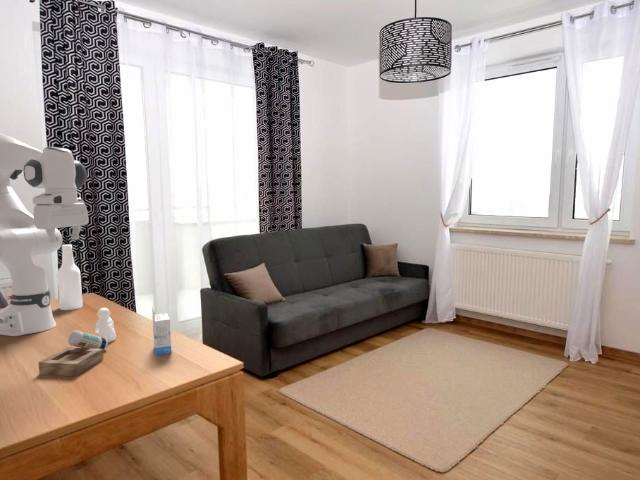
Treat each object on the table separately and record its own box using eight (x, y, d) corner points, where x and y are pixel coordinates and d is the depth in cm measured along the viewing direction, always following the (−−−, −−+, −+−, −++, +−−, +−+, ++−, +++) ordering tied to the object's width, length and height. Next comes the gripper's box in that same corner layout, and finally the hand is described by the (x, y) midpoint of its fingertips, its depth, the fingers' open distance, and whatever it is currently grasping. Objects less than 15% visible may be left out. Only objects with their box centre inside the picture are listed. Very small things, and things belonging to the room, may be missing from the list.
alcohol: (67, 314, 185) (61, 246, 182) (56, 312, 190) (51, 245, 187) (87, 310, 193) (82, 244, 189) (76, 307, 197) (71, 243, 194)
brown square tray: (39, 376, 124) (38, 362, 124) (68, 360, 136) (67, 347, 136) (77, 378, 123) (76, 363, 122) (103, 361, 135) (102, 348, 134)
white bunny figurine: (97, 347, 146) (95, 312, 145) (94, 340, 153) (92, 307, 152) (117, 343, 150) (115, 309, 148) (114, 336, 157) (111, 304, 155)
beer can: (65, 345, 132) (96, 353, 142) (76, 344, 131) (107, 352, 141) (69, 330, 134) (99, 338, 144) (80, 329, 133) (110, 337, 143)
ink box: (172, 354, 139) (170, 310, 137) (156, 356, 137) (153, 312, 135) (169, 345, 147) (167, 304, 145) (153, 348, 145) (151, 306, 143)
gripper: (75, 197, 148) (78, 237, 149) (27, 198, 127) (31, 244, 129) (92, 197, 147) (94, 237, 148) (47, 198, 127) (50, 244, 128)
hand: (65, 240), depth 138 cm, fingers open, 8 cm apart
